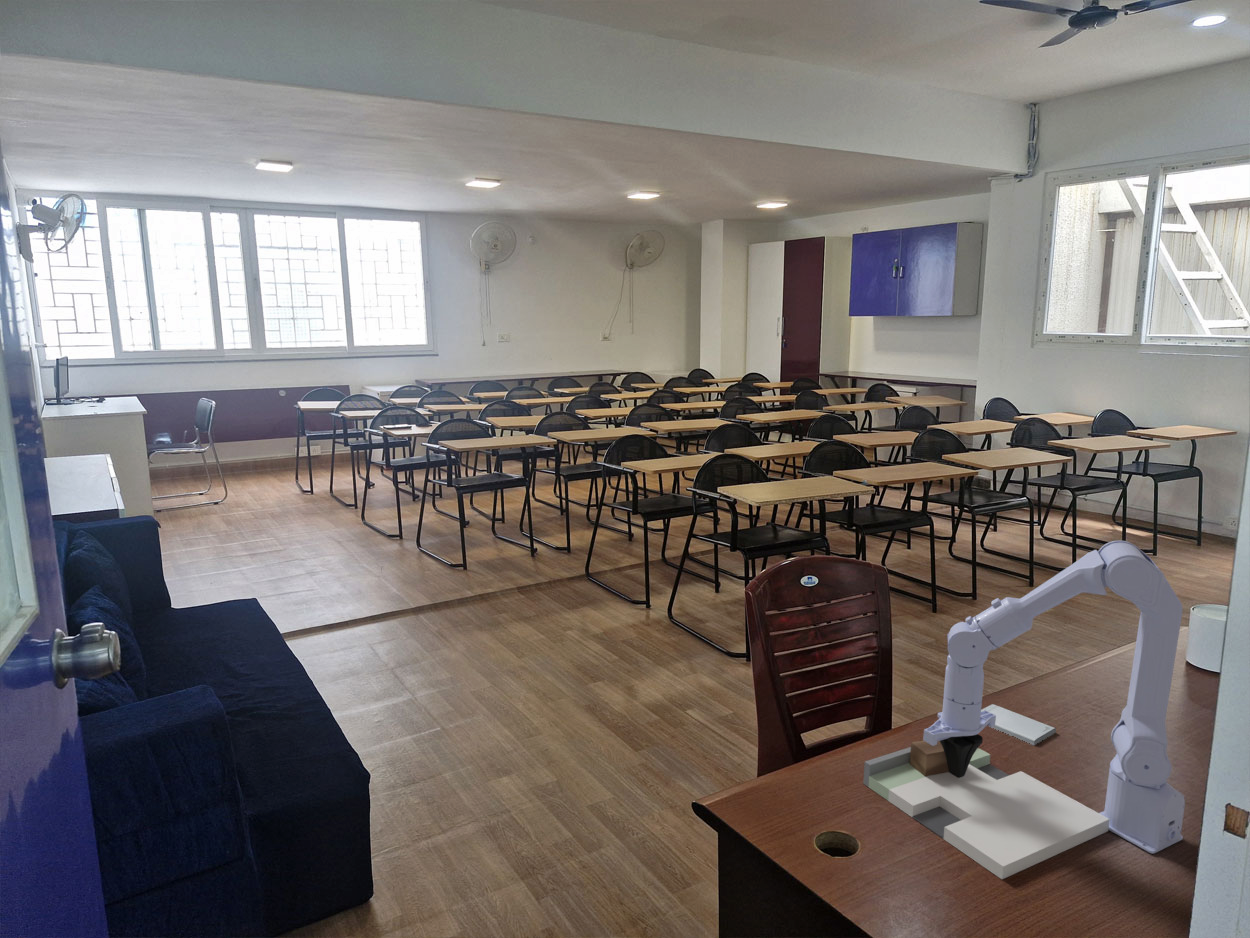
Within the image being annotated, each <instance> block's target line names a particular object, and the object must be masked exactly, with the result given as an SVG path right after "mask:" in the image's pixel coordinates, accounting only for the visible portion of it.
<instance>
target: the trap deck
mask: <svg viewBox="0 0 1250 938" xmlns="http://www.w3.org/2000/svg"><path fill="white" fill-rule="evenodd" d="M910 752H911V746H909V747H905V748H903V749H900V750H899V749H898V750H897V751H893V752H890V753H888V754H884V755H881V756H877V757H874V758H872V759H869V760H865V761H864V766H863V767H864V768H863V780H862V781H863V783H862V784H863V785H865V786H866V787H868V788H869V789H870V790H872V791H873V792H875V793H876V794H877V795H879V796H880V797H882V798H883V799H885V800H886V801H888V802H889V803H890V804H892V805H894V806H895V807H897V808H898V809H899V810H901V811H902V812H903V813H905V814H906V815H908V816H909V817H911V818H912V819H914V820H915V821H917V822H918V823H920V824H921V825H922V826H924V827H926V828H927V829H928V830H929V831H932V832H933V833H934V834H935V835H937V836H938V837H940V838H941V839H943V840H944V841H946V842H947V843H948V844H950V845H951V846H953V847H955V848H956V849H957V850H959V851H960V852H962V853H963V854H965V855H966V856H968V857H969V858H970V859H971V860H974V861H975V863H977V864H978V865H980V866H982V867H983V868H984V869H986V870H988V871H989V872H991V873H992V874H994V875H995V876H996V877H997V878H999V879H1001V880H1004V879H1006V878H1008V877H1010V876H1013V875H1015V874H1017V873H1019V872H1022V871H1024V870H1026V869H1028V868H1031V867H1032V866H1035V865H1037V864H1039V863H1042V862H1044V861H1047V860H1048V859H1050V858H1052V857H1055V856H1057V855H1058V854H1062V853H1063V852H1066V851H1067V850H1068V851H1069V849H1072V848H1075V847H1076V846H1078V845H1081V844H1083V843H1084V842H1085V843H1086V842H1088V841H1089V840H1092V839H1094V838H1096V837H1098V836H1101V835H1102V834H1105V833H1107V832H1109V830H1108V828H1109V820H1110V819H1108V818H1107V817H1105V816H1103V815H1101V814H1099V813H1100V812H1098V811H1096V810H1094V809H1093V808H1090V807H1088V806H1087V805H1084V804H1083V803H1081V802H1078V801H1077V800H1075V799H1074V798H1072V797H1070V796H1068V795H1066V794H1064V793H1062V792H1061V791H1059V790H1057V789H1055V788H1053V787H1051V786H1049V785H1048V784H1046V783H1044V782H1042V781H1040V780H1038V779H1037V778H1035V777H1033V776H1031V775H1029V774H1027V772H1023V771H1022V770H1020V771H1018V772H1014V773H1012V774H1009V773H1006V771H1005V772H1004V771H1003V770H1001V769H999V768H998V767H996V766H994V765H993V764H991V763H990V762H991V754H990V753H988V752H987V751H985V750H983V749H981V748H979V747H978V748H977V750H976V751H975V753H974V754H973V756H972V758H971V760H970V763H969V765H968V768H967V770H966V773H965V775H964V776H963V777H960V778H957V777H956V776H954V775H952V774H951V773H949V772H946V773H941V774H936V775H931V776H926V777H925V776H924V775H922V774H921V773H920V772H919V771H917V770H916V769H915V768H914V767H912V766H911V765H910Z"/></svg>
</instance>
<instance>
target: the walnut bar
mask: <svg viewBox="0 0 1250 938" xmlns="http://www.w3.org/2000/svg"><path fill="white" fill-rule="evenodd" d="M910 747H911V752H910V765H911V766H912V767H914V768H915V769H916V770H917V771H919V772H920V773H921V774H922V775H924V776H925V777H926V776H931V775H936V774H941V773H946V772H949V770H948V765H947V760H946V756H945V752H944V749H943V747H942V745H941V743H940V741H937V745H934V746H932V745H930V744H929V743H927V742H925V741H924V740H923V739H922V740H918V741H912V742H911V743H910Z"/></svg>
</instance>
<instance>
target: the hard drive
mask: <svg viewBox="0 0 1250 938" xmlns="http://www.w3.org/2000/svg"><path fill="white" fill-rule="evenodd" d="M981 711H988V712H990V713H992V714H994V715H996V721H995V726H993V727H991V729H993V728H994V729H993V730H995V729H996V731H998V730H999V731H998V732H1000V731H1001V732H1000V733H1002V732H1004V733H1003V734H1005V733H1006V734H1005V735H1007V734H1009V735H1008V736H1010V737H1012V736H1014V737H1016V738H1015V739H1017V738H1018V739H1017V740H1019V739H1020V741H1022V740H1023V741H1022V742H1024V741H1025V742H1024V743H1026V742H1027V744H1029V743H1030V744H1029V745H1031V746H1036V745H1037V743H1038V744H1040V742H1043V741H1044V740H1046V739H1048V738H1049V736H1050V737H1051V736H1053V735H1054V733H1055V734H1056V733H1057V728H1056V727H1053V726H1051V725H1048V724H1046V723H1042V722H1041V721H1038V720H1035V719H1033V718H1030V717H1028V716H1025V715H1022V714H1020V713H1017V712H1014V711H1012V710H1009V709H1006V708H1005V707H1002V706H999V705H996V704H993V703H992V704H990V705H988V706H986V707H983V708H981ZM1014 737H1013V738H1014ZM1047 737H1048V738H1047ZM1042 740H1043V741H1042Z"/></svg>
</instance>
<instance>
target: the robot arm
mask: <svg viewBox="0 0 1250 938" xmlns="http://www.w3.org/2000/svg"><path fill="white" fill-rule="evenodd" d="M1105 588H1108V589H1110V591H1112V592H1113V593H1114V594H1116V595H1118V596H1119V597H1122V598H1123V599H1125V600H1127V601H1130V602H1131V603H1132V604H1133V605H1135V607H1137V609H1139V611H1140V616H1139V621H1138V626H1137V628H1138V629H1137V634H1136V640H1135V641H1136V642H1135V647H1134V654H1133V661H1132V668H1131V674H1130V680H1129V688H1128V693H1127V699H1126V700H1127V701H1126V705H1125V707H1124V708H1123V709H1122V711H1121V715H1120V716H1121V717H1120V719H1119V721H1118V722H1117V724H1116V725H1115V726H1114V727H1113V728H1112V731H1111V735H1110V739H1111V743H1112V745H1113V747H1114V749H1115V751H1116V754H1115V756H1114V757H1113V759H1112V760H1111V761H1110V763H1109V770H1108V771H1109V772H1108V779H1107V787H1106V795H1105V804H1104V810H1103V811H1100V812H1098V813H1099V814H1101V815H1103V816H1105V817H1107V818H1108V819H1110V820H1109V828H1108V831H1110V832H1111V833H1114V834H1115V835H1117V836H1119V837H1121V838H1122V839H1125V840H1126V841H1128V842H1130V843H1132V844H1133V845H1135V846H1137V847H1138V848H1140V849H1143V850H1144V851H1145V852H1147V853H1149V854H1153V855H1154V854H1156V853H1158V852H1160V851H1162V850H1164V849H1166V848H1168V847H1170V846H1172V845H1174V844H1177V843H1178V842H1180V841H1182V840H1183V839H1184V836H1183V835H1182V828H1183V822H1184V821H1183V820H1184V813H1185V807H1186V803H1185V802H1186V801H1185V797H1184V794H1183V793H1182V792H1180V791H1178V790H1177V789H1175V788H1174V787H1173V786H1171V784H1169V783H1168V779H1169V777H1170V776H1171V775H1172V763H1171V760H1170V759H1169V756H1168V753H1167V752H1168V735H1167V726H1166V719H1167V712H1168V705H1169V699H1170V693H1171V686H1172V680H1173V673H1174V667H1175V663H1176V662H1175V660H1176V657H1177V656H1176V654H1177V649H1178V643H1179V637H1180V636H1179V635H1180V629H1181V622H1182V617H1183V613H1184V612H1183V604H1182V602H1181V600H1180V599H1179V597H1178V596H1177V594H1176V592H1175V590H1174V589H1173V588H1172V586H1171V584H1170V583H1169V581H1168V579H1167V578H1166V576H1165V574H1164V572H1163V571H1162V570H1161V569H1159V567H1158V566H1157V564H1156V563H1155V562H1154V561H1153V559H1152V558H1151V557H1150V556H1149V555H1148V554H1147V553H1145V552H1144V551H1143V550H1141V548H1139V547H1138V546H1137V545H1135V544H1134V543H1131V542H1129V541H1127V540H1113V541H1109V542H1107V543H1105V544H1104V545H1102V546H1101V547H1100V548H1099V549H1098V550H1097V549H1093V550H1092V551H1089V552H1087V553H1086V554H1085V555H1083V556H1082V557H1081V558H1079V559H1077V561H1075V562H1073V563H1072V564H1071V565H1069V566H1067V567H1066V568H1064V569H1063V570H1061V571H1060V572H1058V573H1057V574H1055V575H1053V576H1052V577H1051V578H1050V579H1048V580H1046V581H1044V582H1043V583H1042V584H1040V585H1039V586H1037V587H1036V588H1034V589H1033V590H1031V591H1029V592H1028V593H1026V594H1025V595H1024V596H1022V597H1021V598H1019V597H1018V598H1016V597H1009V596H1008V597H1004V598H1003V599H1000V598H999V597H997V598H995V599H993V600H992V601H991V603H990V604H991V606H989V607H988V608H987V609H985V610H983V611H981V612H980V613H978V614H977V615H975V616H971V615H968V616H967V617H966V618H965V620H964V621H965V622H964V621H959V622H957V623H955V624H953V626H952V627H951V628H950V630H949V631H948V633H947V634H946V638H947V652H948V655H947V656H946V657H947V659H946V663H947V665H946V666H945V672H944V673H945V674H944V686H943V687H944V688H943V697H942V698H943V699H942V700H943V701H942V711H940V712H937V718H938V719H937V720H936V721H934V723H933V724H932V725H930V726H929V727H928V728H924V729H923V737H922V738H923V739H922V741H923V740H924V741H925V742H927V743H929V744H930V745H932V746H934V745H937V741H940V743H941V745H942V747H943V749H944V752H945V756H946V760H947V765H948V770H949V773H951V774H952V775H954V776H956V777H957V778H960V777H963V776H964V775H965V773H966V770H967V768H968V765H969V763H970V760H971V758H972V756H973V754H974V753H975V751H976V750H977V748H979V747H980V746H981V745H982V744H983V740H984V739H983V736H982V735H980V733H981V732H982V731H983V730H984V729H985V728H986V727H988V726H989V727H988V728H990V727H993V726H995V721H996V715H994V714H992V713H990V712H988V711H981V710H982V704H983V692H984V683H985V681H984V680H985V671H984V664H985V662H986V661H987V659H988V657H989V653H990V652H991V651H995V650H997V649H998V648H1000V647H1002V646H1005V644H1007V643H1009V642H1011V641H1013V640H1014V639H1016V638H1018V637H1019V636H1021V635H1023V634H1025V633H1026V632H1028V631H1030V630H1031V629H1032V627H1033V621H1034V618H1036V617H1037V616H1039V615H1041V614H1043V613H1045V612H1047V611H1049V610H1051V609H1053V608H1055V607H1057V606H1059V605H1061V604H1063V603H1065V602H1066V601H1068V600H1070V599H1072V598H1074V597H1076V596H1078V595H1080V594H1082V593H1084V594H1085V593H1087V594H1093V595H1099V596H1107V595H1108V594H1107V592H1106V589H1105ZM987 725H988V726H987Z"/></svg>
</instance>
